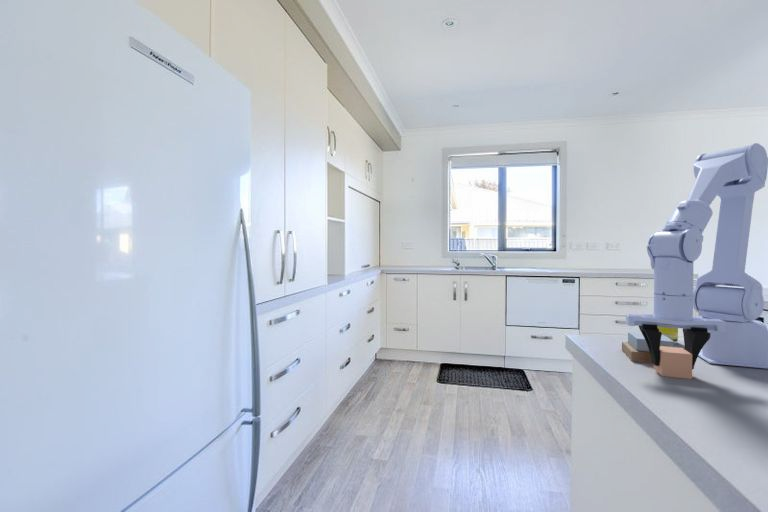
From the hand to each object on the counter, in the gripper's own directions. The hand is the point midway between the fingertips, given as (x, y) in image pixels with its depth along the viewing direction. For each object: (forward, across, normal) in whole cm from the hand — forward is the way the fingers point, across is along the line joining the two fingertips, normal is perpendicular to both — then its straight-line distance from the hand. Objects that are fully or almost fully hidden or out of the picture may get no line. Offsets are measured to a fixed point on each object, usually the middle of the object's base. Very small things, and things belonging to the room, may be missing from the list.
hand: (672, 365), depth 67 cm
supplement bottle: (+2, +7, +27) cm, 28 cm away
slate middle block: (-1, -1, +10) cm, 10 cm away
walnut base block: (+2, -1, +10) cm, 10 cm away
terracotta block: (+1, 0, 0) cm, 1 cm away
